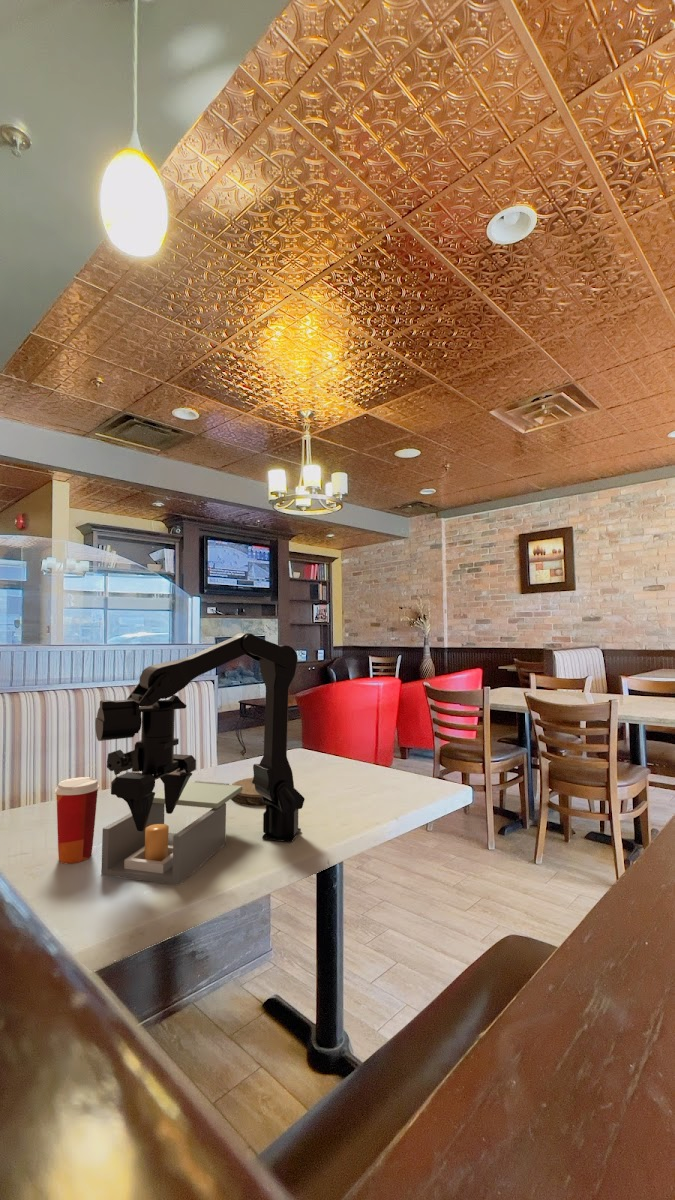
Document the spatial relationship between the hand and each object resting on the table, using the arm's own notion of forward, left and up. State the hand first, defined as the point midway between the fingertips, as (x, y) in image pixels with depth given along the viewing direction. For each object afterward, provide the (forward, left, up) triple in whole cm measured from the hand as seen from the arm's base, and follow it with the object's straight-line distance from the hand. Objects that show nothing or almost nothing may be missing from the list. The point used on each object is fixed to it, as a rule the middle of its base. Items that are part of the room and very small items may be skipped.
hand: (155, 821), depth 98 cm
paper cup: (+17, 0, -8) cm, 19 cm away
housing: (0, -4, -8) cm, 9 cm away
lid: (0, -16, -2) cm, 16 cm away
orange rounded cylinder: (0, 0, -7) cm, 7 cm away
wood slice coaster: (-3, -44, -9) cm, 45 cm away
